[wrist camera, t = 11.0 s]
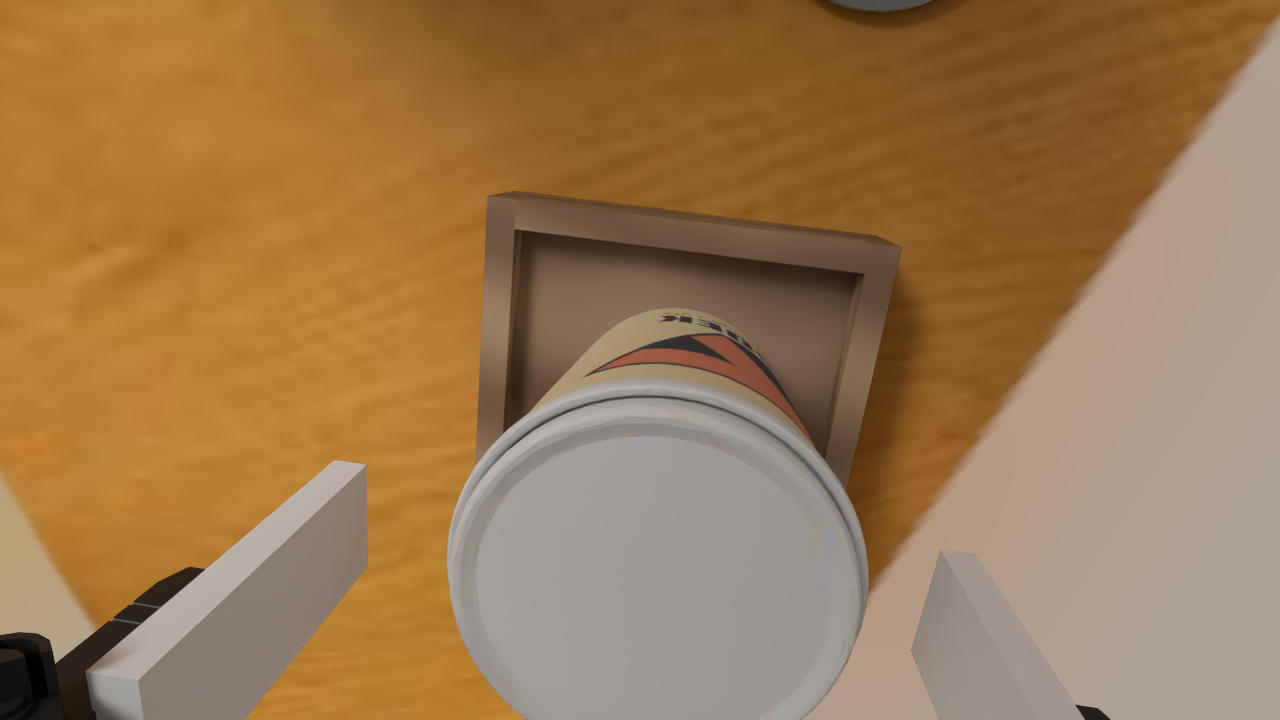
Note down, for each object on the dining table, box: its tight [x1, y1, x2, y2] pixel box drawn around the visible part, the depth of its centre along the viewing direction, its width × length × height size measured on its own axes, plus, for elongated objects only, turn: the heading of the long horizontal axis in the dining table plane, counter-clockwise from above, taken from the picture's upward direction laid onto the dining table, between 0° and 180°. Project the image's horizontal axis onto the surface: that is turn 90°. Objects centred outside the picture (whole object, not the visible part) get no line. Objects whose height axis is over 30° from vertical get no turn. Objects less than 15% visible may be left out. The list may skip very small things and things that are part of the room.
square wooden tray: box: [476, 191, 902, 492], centre depth 26 cm, size 14×14×4 cm
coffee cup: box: [447, 308, 869, 720], centre depth 20 cm, size 9×9×12 cm
